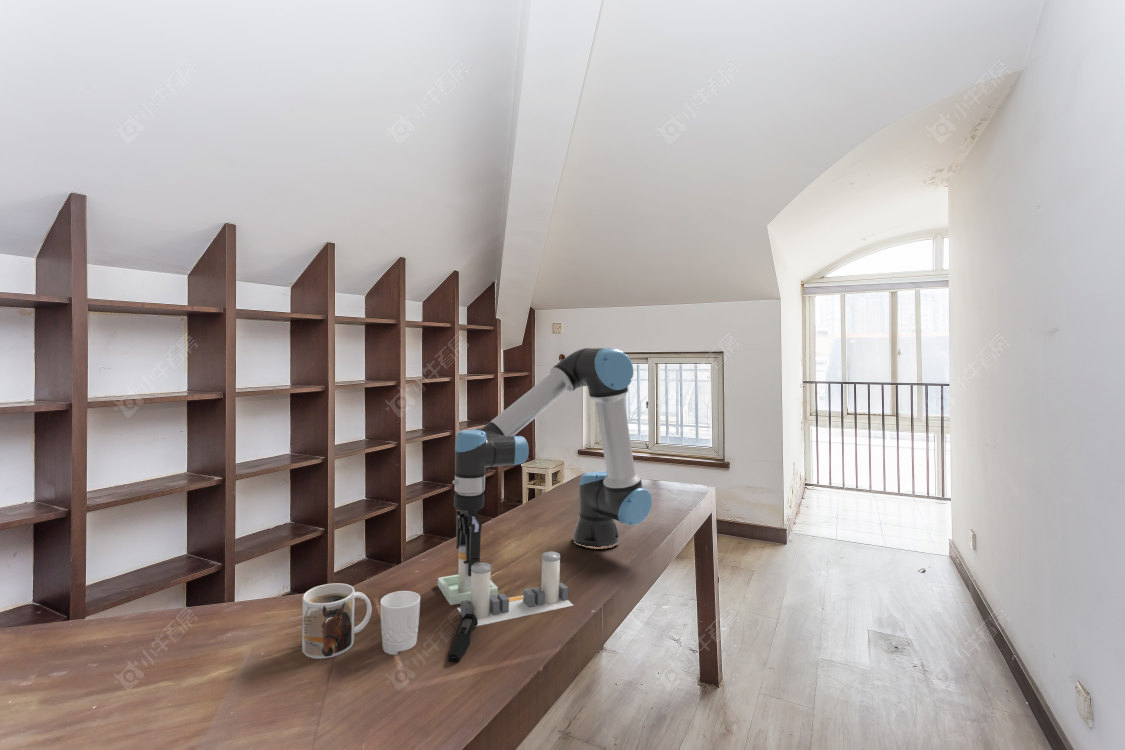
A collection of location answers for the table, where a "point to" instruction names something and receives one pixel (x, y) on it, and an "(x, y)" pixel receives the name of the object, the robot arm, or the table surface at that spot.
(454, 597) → the tray
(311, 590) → the mug
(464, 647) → the electric trimmer
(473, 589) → the fuse
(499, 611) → the board
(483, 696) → the table surface
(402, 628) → the white cup
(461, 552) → the marked fuse
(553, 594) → the cream grey cylinder
